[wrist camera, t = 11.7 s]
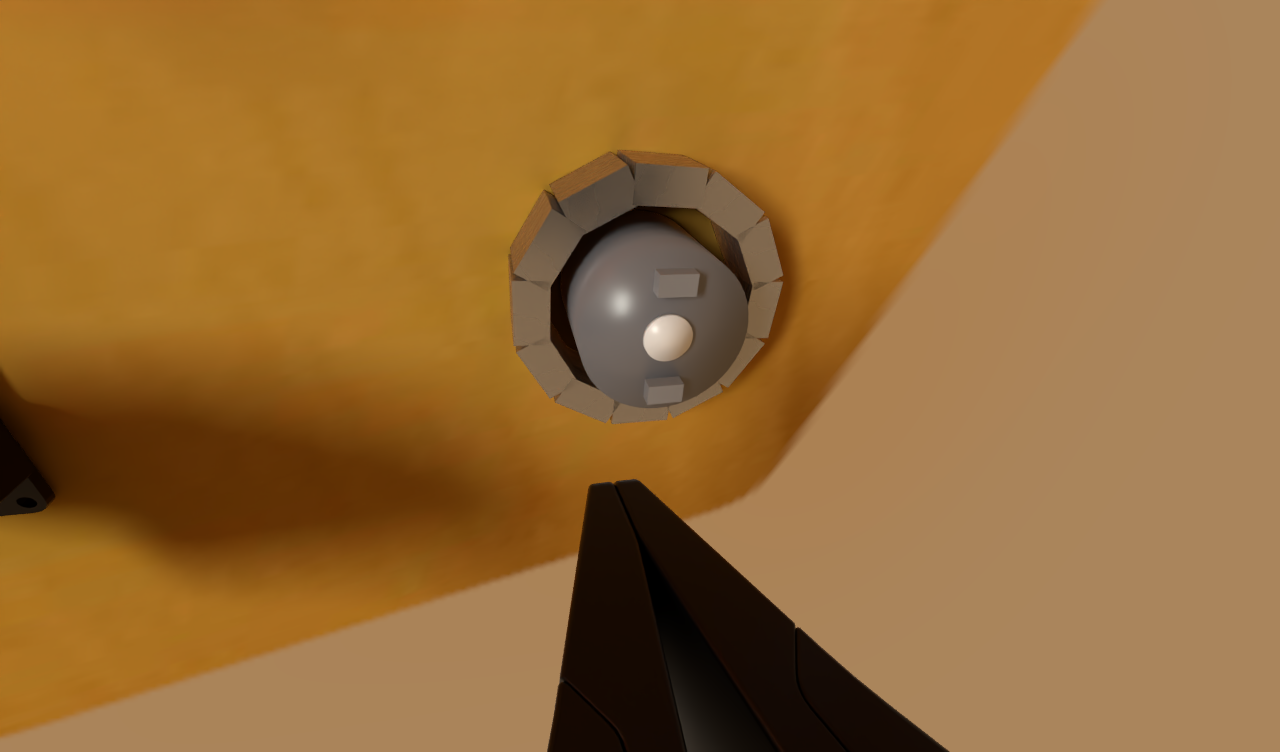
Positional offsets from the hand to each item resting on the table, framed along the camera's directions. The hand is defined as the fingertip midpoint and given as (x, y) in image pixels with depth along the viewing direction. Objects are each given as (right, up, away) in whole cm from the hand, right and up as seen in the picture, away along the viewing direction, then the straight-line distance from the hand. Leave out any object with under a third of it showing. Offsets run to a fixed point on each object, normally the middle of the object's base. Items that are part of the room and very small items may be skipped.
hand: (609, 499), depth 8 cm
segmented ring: (0, +6, +11) cm, 12 cm away
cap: (0, +6, +11) cm, 12 cm away
